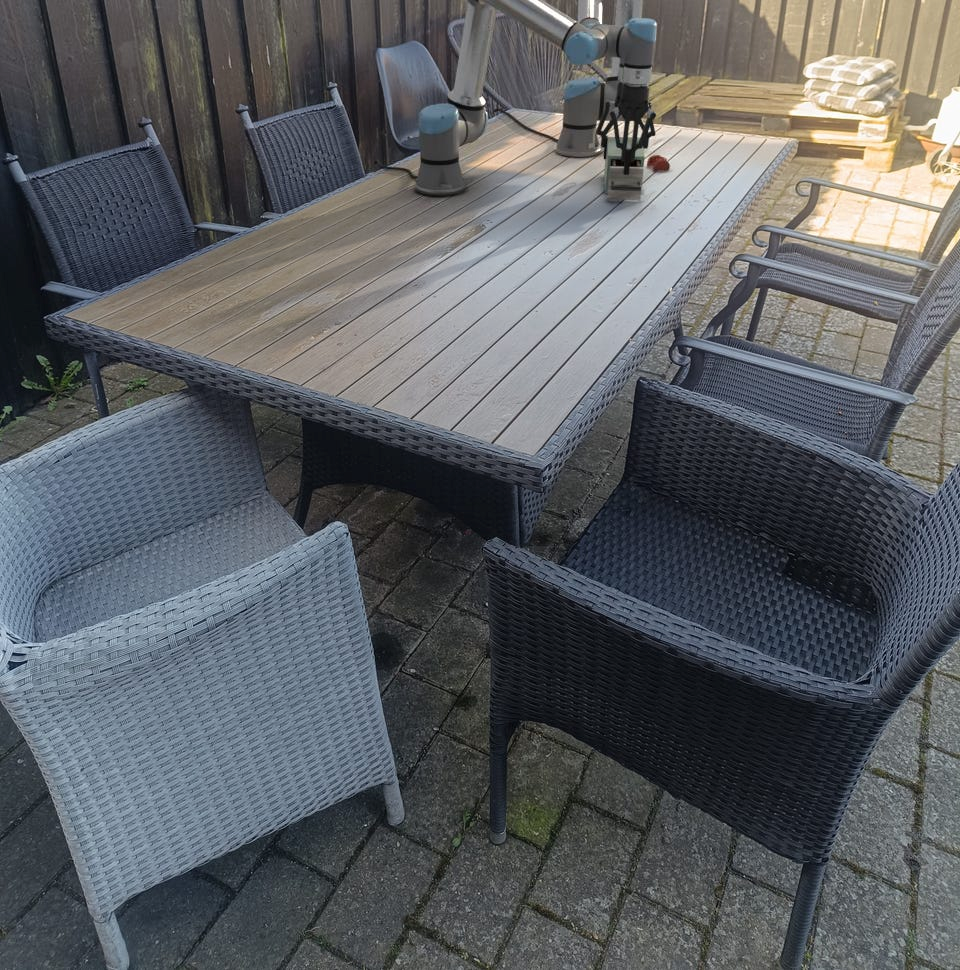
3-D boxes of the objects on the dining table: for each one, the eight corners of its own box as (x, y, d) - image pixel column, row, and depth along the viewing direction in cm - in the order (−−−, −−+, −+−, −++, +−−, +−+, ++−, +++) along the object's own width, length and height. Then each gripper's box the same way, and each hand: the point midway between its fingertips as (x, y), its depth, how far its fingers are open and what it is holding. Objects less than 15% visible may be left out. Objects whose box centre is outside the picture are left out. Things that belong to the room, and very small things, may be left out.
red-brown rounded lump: (661, 151, 278) (672, 157, 272) (660, 164, 281) (670, 171, 275) (646, 153, 277) (656, 159, 271) (645, 166, 280) (654, 173, 274)
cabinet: (640, 194, 255) (644, 156, 248) (604, 193, 256) (608, 155, 249) (637, 173, 270) (641, 137, 264) (604, 172, 271) (607, 136, 264)
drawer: (640, 206, 244) (644, 174, 238) (607, 205, 244) (610, 173, 239) (637, 179, 262) (640, 149, 257) (606, 179, 263) (609, 148, 258)
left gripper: (612, 85, 225) (603, 176, 239) (661, 87, 224) (649, 178, 238) (611, 80, 231) (603, 168, 245) (659, 82, 230) (648, 170, 244)
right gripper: (591, 84, 249) (585, 161, 262) (670, 85, 247) (661, 163, 260) (591, 79, 255) (585, 154, 268) (668, 80, 253) (659, 156, 266)
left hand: (626, 173), depth 241 cm, fingers closed
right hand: (623, 158), depth 264 cm, fingers closed on cabinet, 11 cm apart
